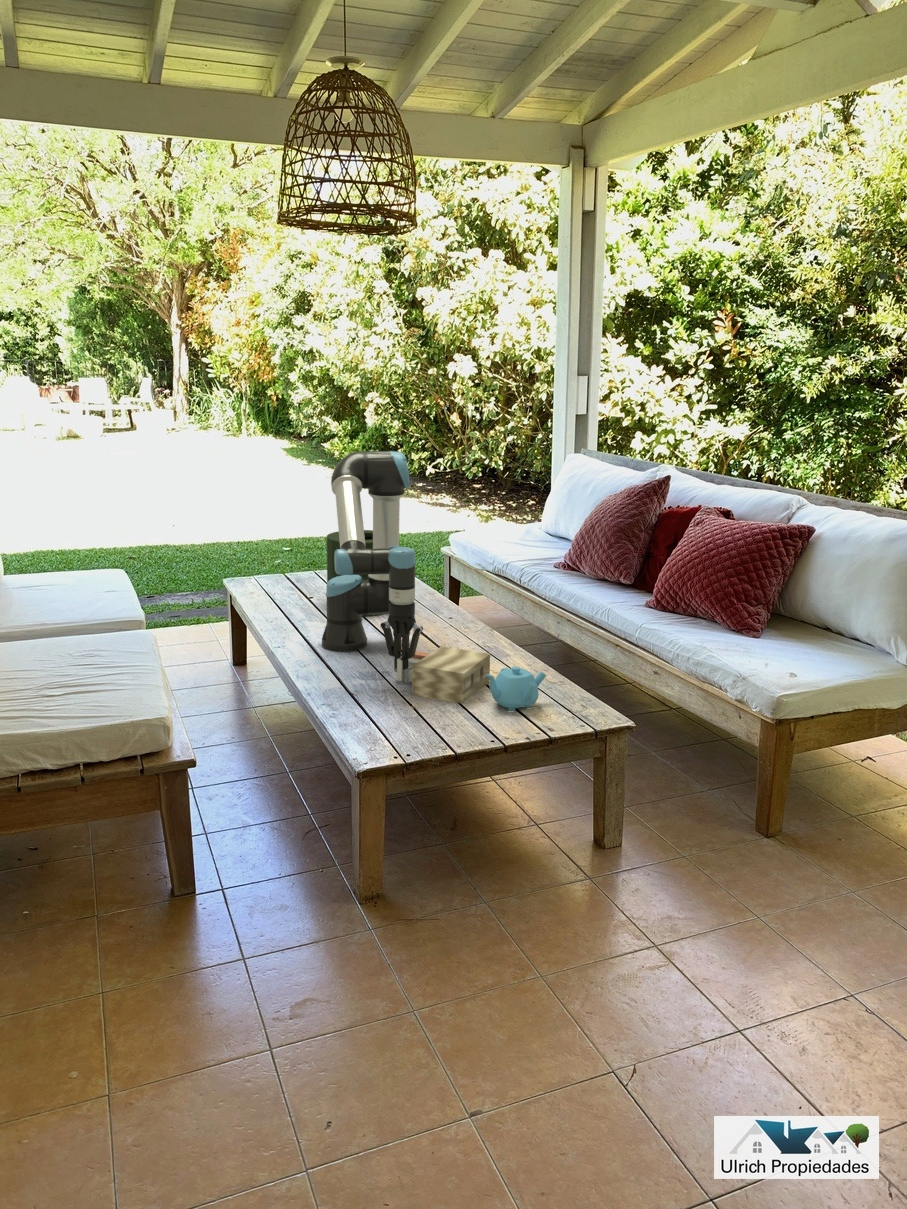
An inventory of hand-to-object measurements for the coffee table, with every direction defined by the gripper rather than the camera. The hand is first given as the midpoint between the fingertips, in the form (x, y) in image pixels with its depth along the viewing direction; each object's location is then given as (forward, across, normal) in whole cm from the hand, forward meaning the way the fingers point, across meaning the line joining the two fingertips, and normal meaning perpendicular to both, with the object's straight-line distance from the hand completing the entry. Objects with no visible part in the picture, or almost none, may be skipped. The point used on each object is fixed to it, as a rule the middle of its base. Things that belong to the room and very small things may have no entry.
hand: (401, 679), depth 280 cm
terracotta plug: (0, +4, +14) cm, 15 cm away
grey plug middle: (0, +3, +7) cm, 8 cm away
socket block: (+3, +13, +7) cm, 15 cm away
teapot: (+3, +35, +2) cm, 35 cm away
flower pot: (+3, -54, +72) cm, 90 cm away
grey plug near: (0, +11, 0) cm, 11 cm away
